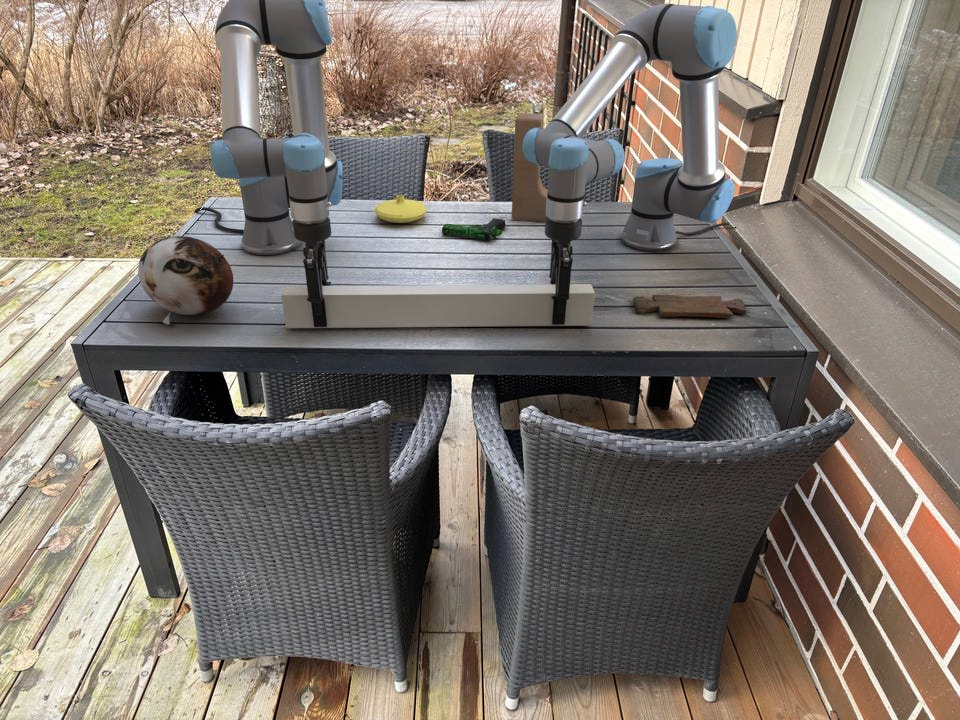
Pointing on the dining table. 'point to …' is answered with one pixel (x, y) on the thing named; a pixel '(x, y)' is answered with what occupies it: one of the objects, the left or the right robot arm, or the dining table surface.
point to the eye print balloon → (185, 276)
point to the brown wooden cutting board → (689, 306)
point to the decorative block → (527, 175)
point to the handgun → (476, 230)
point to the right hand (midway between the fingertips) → (556, 318)
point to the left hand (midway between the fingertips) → (322, 320)
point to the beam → (438, 306)
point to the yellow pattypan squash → (400, 210)
